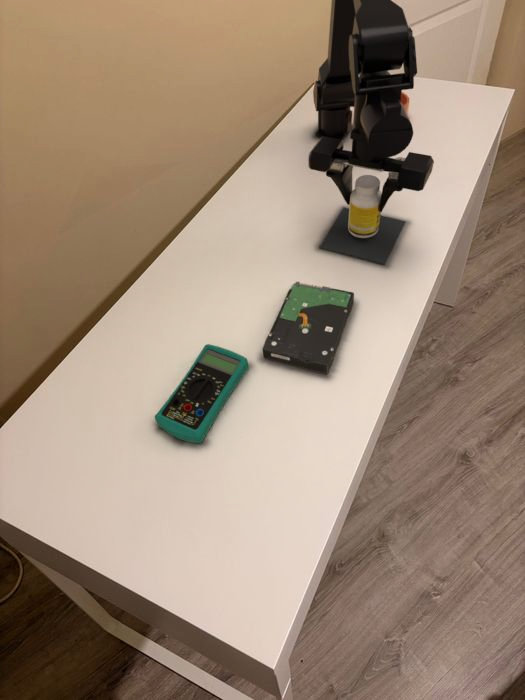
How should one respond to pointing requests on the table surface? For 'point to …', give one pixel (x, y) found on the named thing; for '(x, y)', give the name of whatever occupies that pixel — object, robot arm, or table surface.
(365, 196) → the supplement bottle
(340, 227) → the mat
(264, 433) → the table surface
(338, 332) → the disk drive
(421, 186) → the robot arm
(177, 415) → the digital multimeter
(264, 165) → the table surface
